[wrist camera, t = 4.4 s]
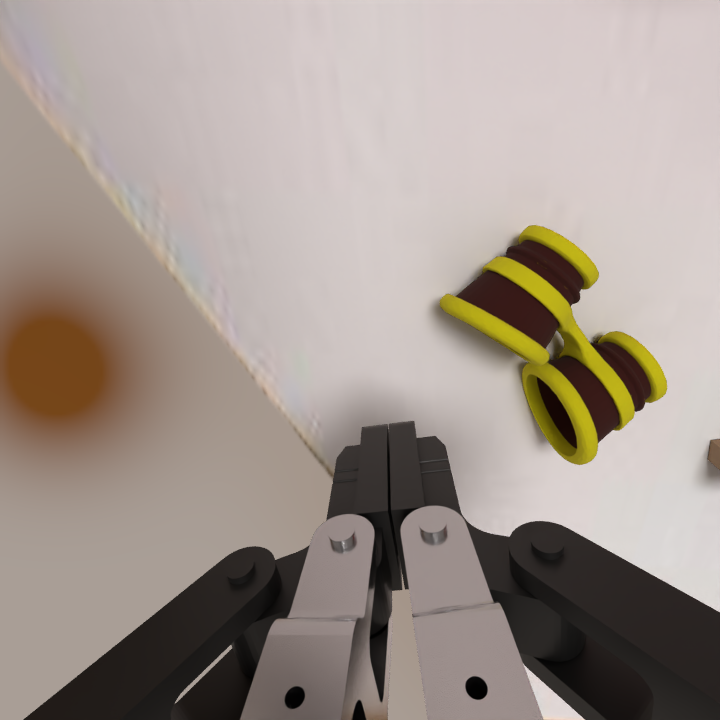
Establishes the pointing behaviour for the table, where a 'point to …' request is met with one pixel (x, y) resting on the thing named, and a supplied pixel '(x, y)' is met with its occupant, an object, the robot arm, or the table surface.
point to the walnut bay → (715, 453)
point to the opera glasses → (579, 357)
